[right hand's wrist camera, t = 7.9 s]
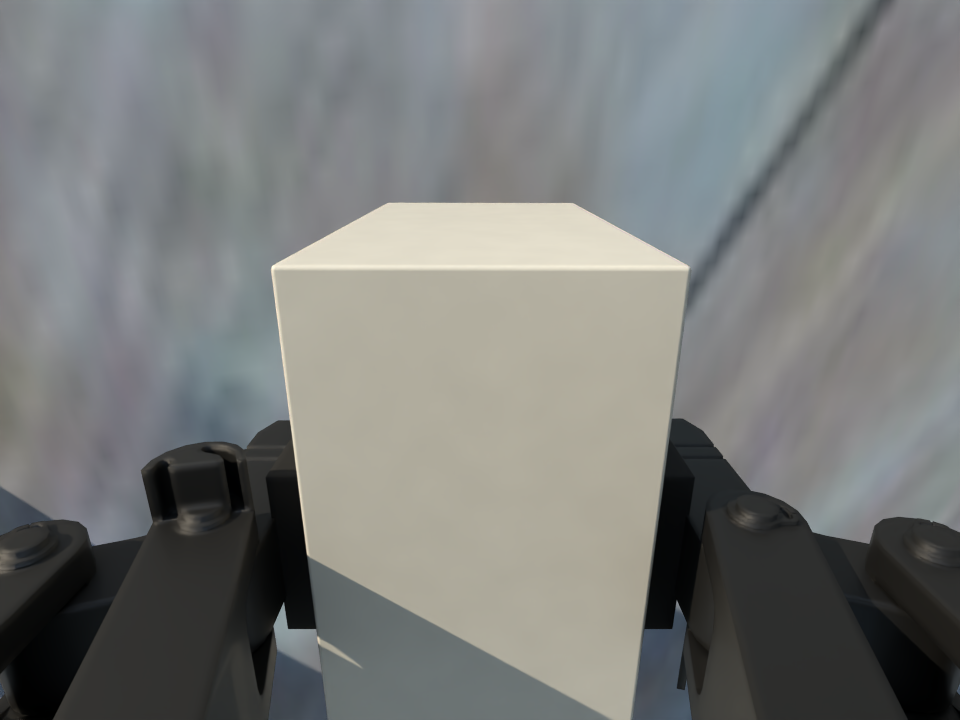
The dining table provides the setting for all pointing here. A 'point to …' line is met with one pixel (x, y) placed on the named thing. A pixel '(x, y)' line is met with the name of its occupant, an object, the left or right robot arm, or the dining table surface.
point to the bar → (480, 455)
